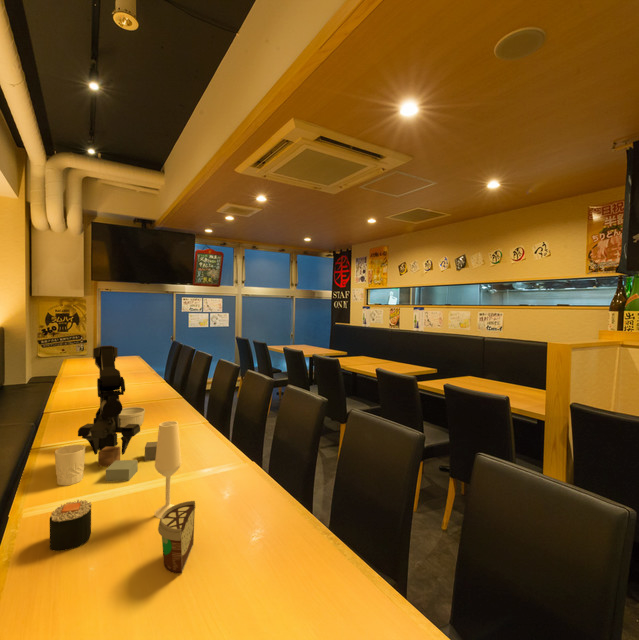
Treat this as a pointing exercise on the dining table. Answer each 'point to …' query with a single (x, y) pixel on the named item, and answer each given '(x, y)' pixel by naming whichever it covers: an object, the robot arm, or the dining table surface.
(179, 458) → the champagne flute
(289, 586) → the dining table surface
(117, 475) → the base block
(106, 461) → the walnut block
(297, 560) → the dining table surface
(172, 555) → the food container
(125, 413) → the ramekin
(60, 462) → the white cup
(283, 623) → the dining table surface
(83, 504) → the sushi
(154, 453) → the brown block
